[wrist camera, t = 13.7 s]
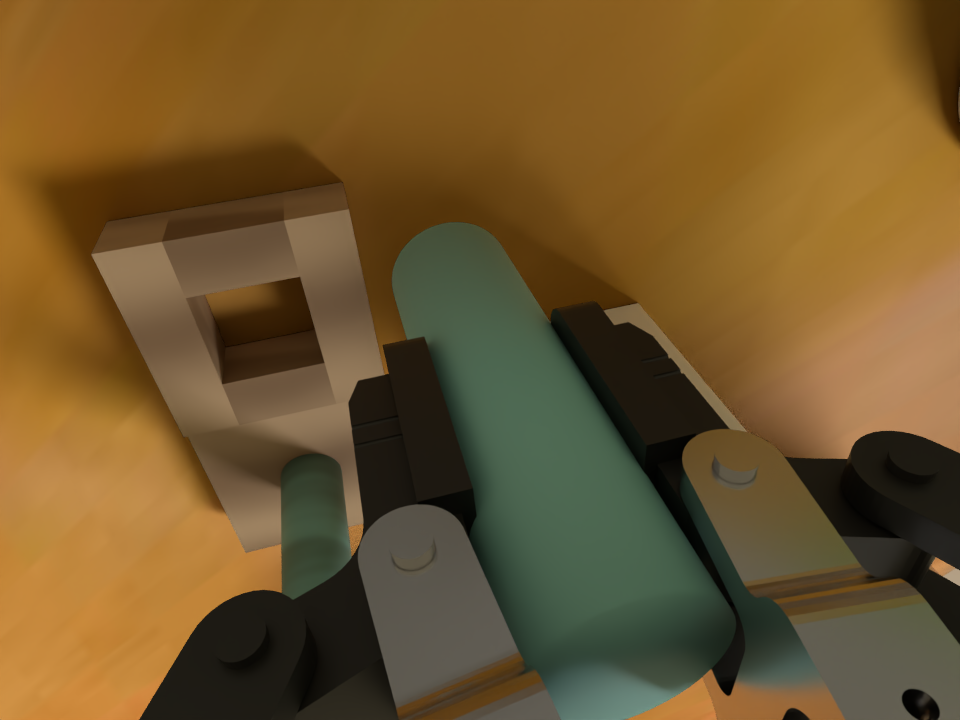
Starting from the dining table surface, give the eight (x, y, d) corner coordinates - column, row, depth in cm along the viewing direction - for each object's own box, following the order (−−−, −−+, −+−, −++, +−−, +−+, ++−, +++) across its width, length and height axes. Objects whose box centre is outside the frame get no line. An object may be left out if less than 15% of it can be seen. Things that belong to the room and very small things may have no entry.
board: (406, 480, 33) (453, 692, 24) (247, 519, 32) (237, 757, 23) (380, 357, 28) (427, 570, 19) (190, 398, 27) (150, 643, 18)
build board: (380, 357, 28) (388, 392, 26) (190, 398, 27) (183, 437, 25) (342, 182, 23) (348, 209, 21) (106, 221, 22) (90, 254, 20)
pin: (508, 318, 15) (711, 695, 8) (398, 336, 15) (512, 752, 8) (508, 214, 14) (760, 568, 6) (385, 230, 13) (514, 631, 6)
